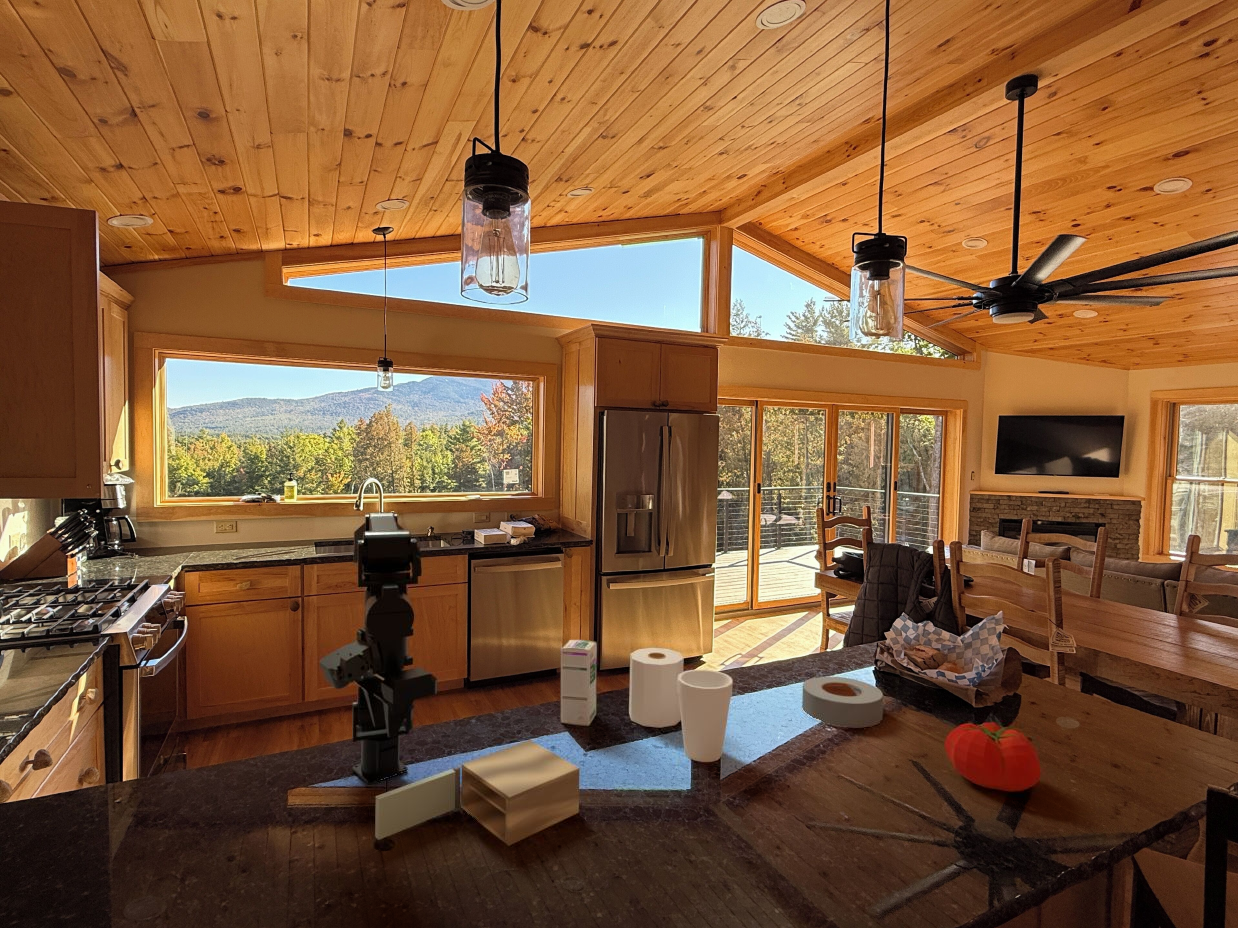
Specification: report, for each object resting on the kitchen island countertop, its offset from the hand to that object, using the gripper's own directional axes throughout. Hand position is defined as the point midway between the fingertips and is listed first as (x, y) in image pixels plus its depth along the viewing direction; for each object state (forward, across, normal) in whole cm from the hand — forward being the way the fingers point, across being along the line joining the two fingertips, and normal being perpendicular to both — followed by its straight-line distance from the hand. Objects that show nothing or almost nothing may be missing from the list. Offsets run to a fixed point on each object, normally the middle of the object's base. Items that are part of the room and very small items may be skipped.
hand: (385, 731), depth 94 cm
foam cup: (+12, +18, +49) cm, 53 cm away
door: (+11, +5, +3) cm, 13 cm away
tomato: (+12, +55, +77) cm, 95 cm away
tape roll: (+12, +25, +84) cm, 88 cm away
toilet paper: (+12, +2, +54) cm, 55 cm away
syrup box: (+12, -8, +42) cm, 44 cm away
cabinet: (+12, +12, +15) cm, 22 cm away
